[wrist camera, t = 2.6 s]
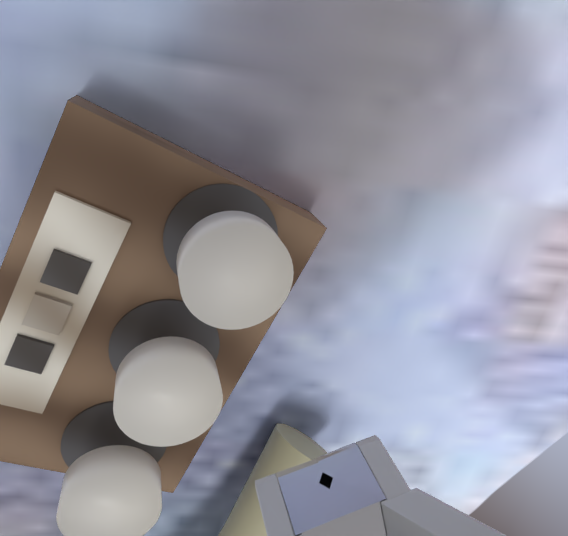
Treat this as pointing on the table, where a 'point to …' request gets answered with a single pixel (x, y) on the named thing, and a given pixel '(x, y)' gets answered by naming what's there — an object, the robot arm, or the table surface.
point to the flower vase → (274, 458)
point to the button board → (113, 283)
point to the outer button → (233, 270)
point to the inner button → (110, 493)
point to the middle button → (167, 392)
